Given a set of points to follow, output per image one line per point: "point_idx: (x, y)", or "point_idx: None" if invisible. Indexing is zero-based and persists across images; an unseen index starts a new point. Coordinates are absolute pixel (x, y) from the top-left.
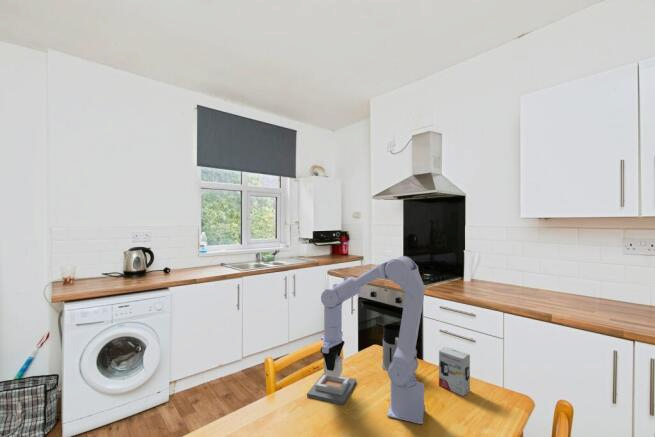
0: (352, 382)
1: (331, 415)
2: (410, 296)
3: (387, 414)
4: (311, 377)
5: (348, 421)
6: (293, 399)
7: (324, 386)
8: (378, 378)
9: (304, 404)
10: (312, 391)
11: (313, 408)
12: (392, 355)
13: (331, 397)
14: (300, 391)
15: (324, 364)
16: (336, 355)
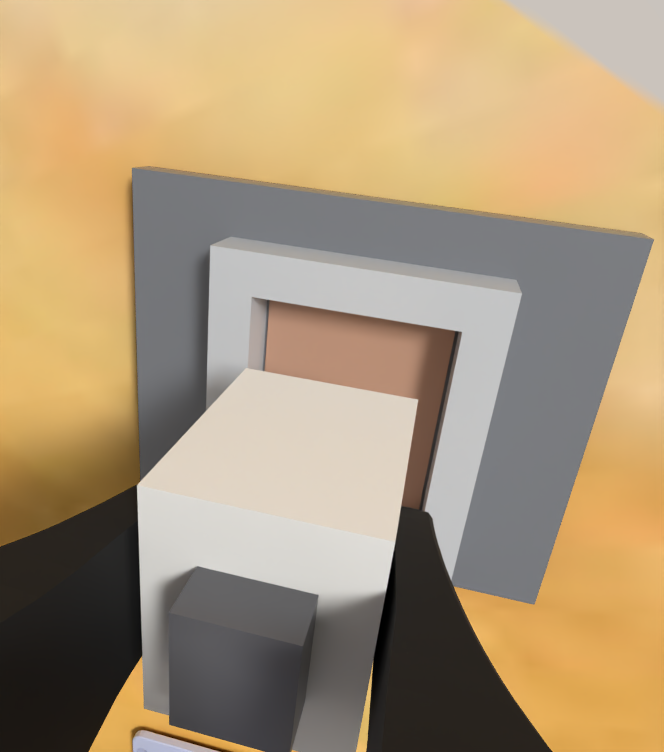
0: (460, 571)
1: (12, 429)
2: None
3: (137, 737)
4: (577, 71)
5: (10, 534)
6: (56, 30)
7: (212, 355)
8: (630, 747)
9: (35, 182)
10: (186, 215)
11: (22, 280)
12: None
13: (157, 418)
14: (216, 48)
15: (181, 447)
16: (226, 739)
